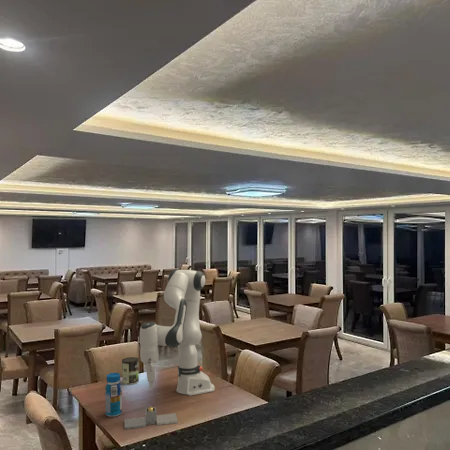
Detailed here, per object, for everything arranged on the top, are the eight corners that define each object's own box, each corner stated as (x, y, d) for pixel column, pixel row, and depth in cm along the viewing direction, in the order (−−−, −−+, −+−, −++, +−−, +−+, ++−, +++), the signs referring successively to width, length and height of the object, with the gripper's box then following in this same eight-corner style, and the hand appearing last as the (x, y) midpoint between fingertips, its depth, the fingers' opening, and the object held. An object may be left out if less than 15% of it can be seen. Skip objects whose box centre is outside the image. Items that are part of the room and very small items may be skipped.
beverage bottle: (101, 416, 214) (101, 376, 214) (111, 409, 221) (111, 371, 222) (115, 418, 211) (115, 378, 211) (125, 411, 218) (125, 372, 219)
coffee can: (140, 379, 268) (140, 356, 268) (136, 384, 257) (136, 361, 258) (124, 379, 268) (124, 357, 268) (120, 385, 257) (119, 362, 258)
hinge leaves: (175, 415, 213) (175, 403, 213) (177, 422, 204) (177, 410, 204) (124, 421, 207) (124, 408, 207) (124, 429, 198) (124, 416, 198)
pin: (153, 420, 207) (152, 406, 207) (153, 422, 205) (153, 408, 205) (148, 421, 207) (147, 406, 207) (148, 423, 204) (148, 408, 204)
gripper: (157, 361, 197) (159, 391, 197) (154, 349, 217) (155, 376, 217) (144, 363, 195) (145, 393, 195) (142, 351, 215) (143, 378, 215)
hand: (150, 384), depth 206 cm, fingers open, 8 cm apart
